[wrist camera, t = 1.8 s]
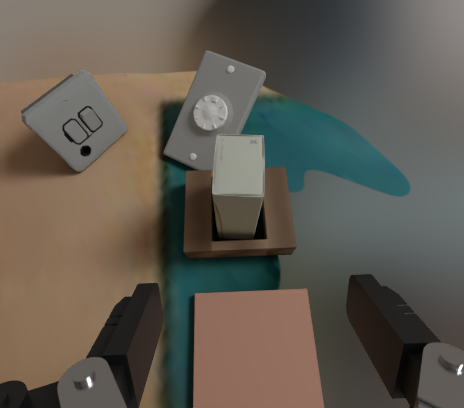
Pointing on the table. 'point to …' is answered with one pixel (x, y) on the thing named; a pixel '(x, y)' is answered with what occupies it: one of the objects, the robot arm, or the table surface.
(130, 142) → the table surface
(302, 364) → the terracotta mat
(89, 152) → the electrical switch
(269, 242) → the frame
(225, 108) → the light switch
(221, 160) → the skincare box
